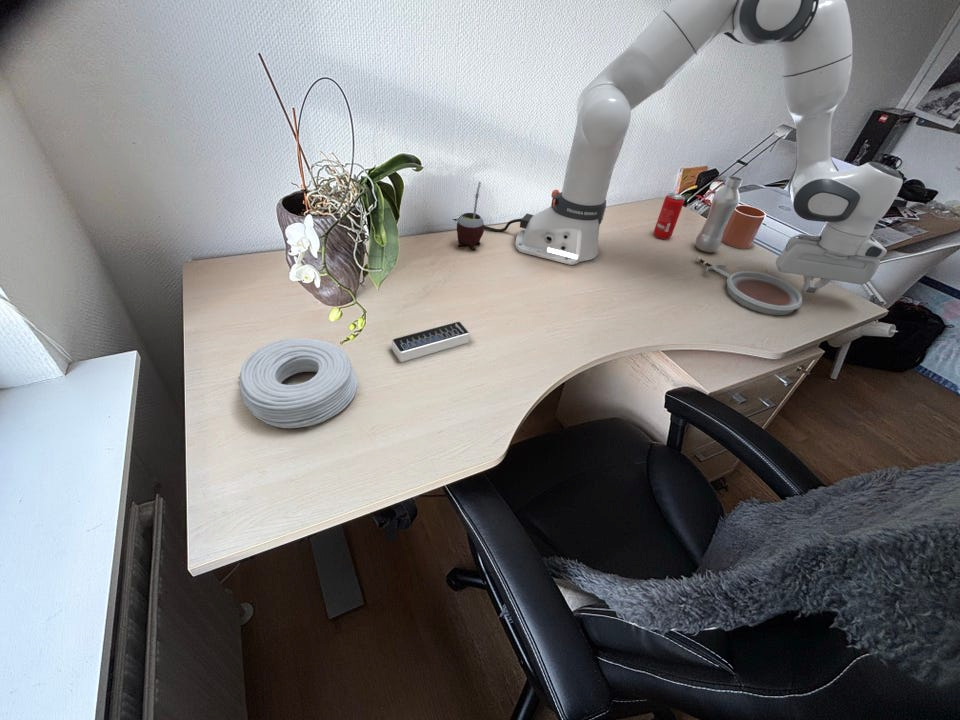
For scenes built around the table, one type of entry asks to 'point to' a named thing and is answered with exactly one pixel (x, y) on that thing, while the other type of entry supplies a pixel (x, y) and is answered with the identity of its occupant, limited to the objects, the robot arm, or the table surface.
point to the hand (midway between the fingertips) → (808, 291)
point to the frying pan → (759, 291)
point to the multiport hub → (430, 341)
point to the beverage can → (668, 215)
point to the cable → (300, 400)
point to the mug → (743, 226)
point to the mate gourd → (470, 227)
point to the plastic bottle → (719, 215)
